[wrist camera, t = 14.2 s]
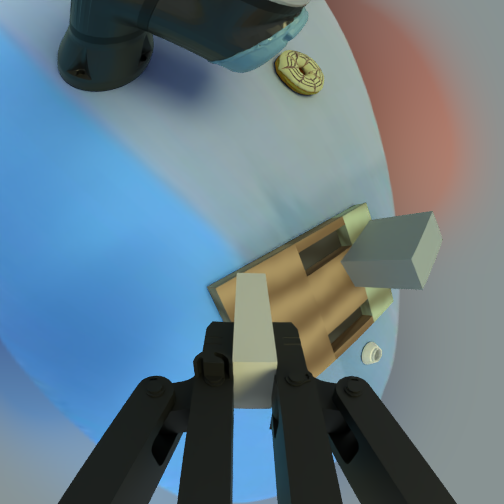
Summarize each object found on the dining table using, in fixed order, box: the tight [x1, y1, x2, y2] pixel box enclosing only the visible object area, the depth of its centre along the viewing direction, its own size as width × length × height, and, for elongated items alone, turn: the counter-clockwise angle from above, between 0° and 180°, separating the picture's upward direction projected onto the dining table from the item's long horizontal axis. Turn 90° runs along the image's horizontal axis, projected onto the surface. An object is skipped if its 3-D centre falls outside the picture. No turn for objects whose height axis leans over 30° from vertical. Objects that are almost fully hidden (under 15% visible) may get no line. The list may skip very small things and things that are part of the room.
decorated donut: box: [275, 50, 324, 95], centre depth 48 cm, size 10×11×4 cm
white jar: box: [362, 342, 382, 365], centre depth 54 cm, size 5×3×5 cm
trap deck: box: [207, 203, 393, 407], centre depth 47 cm, size 22×34×3 cm, turn 116°
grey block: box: [341, 211, 443, 290], centre depth 45 cm, size 6×12×14 cm, turn 132°
